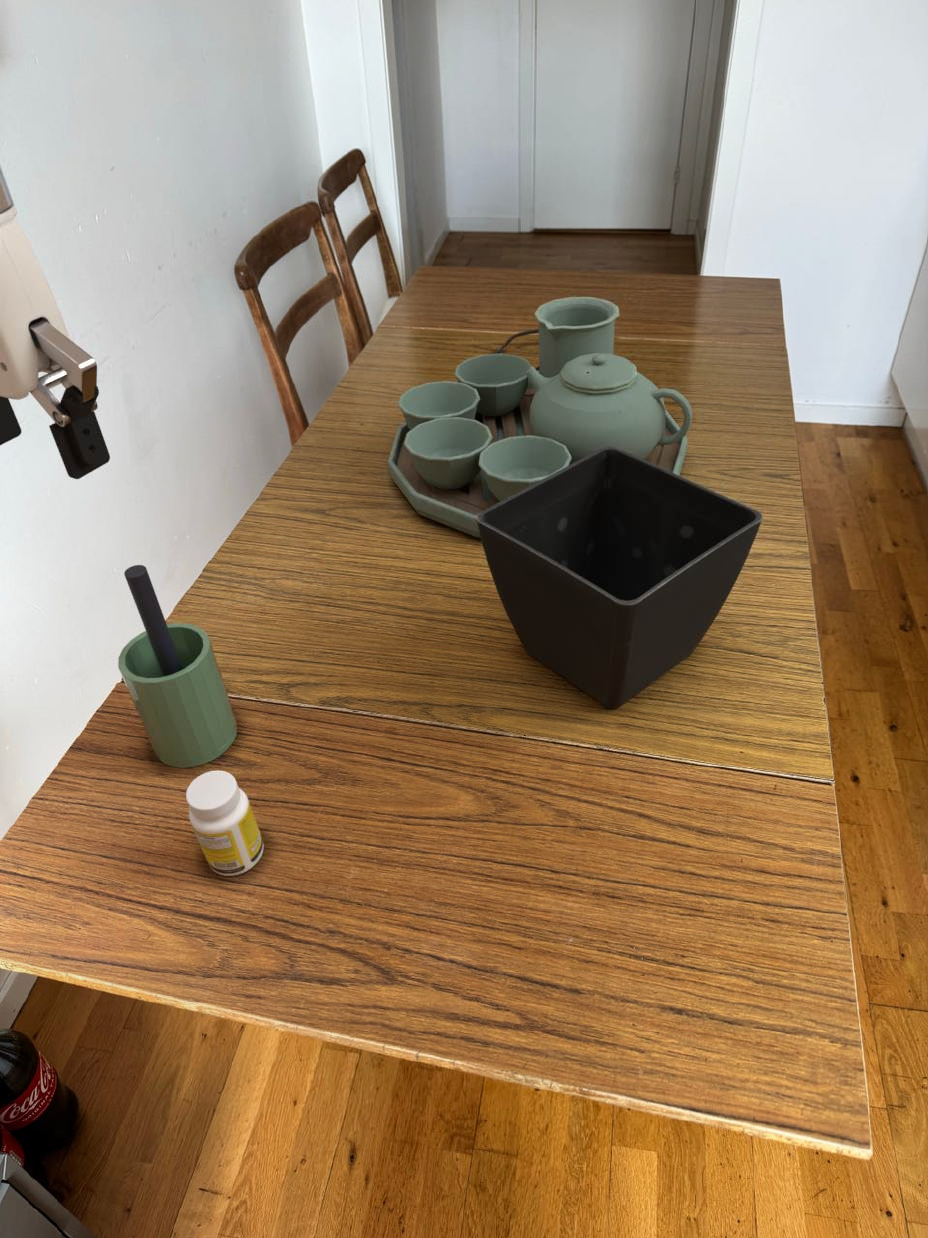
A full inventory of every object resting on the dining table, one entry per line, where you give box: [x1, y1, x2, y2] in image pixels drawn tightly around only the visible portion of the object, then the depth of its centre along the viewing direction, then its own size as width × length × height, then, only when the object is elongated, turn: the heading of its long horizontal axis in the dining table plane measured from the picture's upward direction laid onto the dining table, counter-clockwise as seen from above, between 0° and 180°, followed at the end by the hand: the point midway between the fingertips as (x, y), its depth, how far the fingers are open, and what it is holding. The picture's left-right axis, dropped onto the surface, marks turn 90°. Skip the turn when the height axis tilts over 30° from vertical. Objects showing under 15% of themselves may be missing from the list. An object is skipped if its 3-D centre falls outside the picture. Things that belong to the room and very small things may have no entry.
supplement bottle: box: [185, 769, 264, 877], centre depth 73 cm, size 5×5×8 cm
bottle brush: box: [123, 564, 183, 677], centre depth 80 cm, size 4×4×19 cm
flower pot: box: [476, 446, 763, 709], centre depth 86 cm, size 19×19×17 cm
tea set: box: [387, 296, 693, 538], centre depth 117 cm, size 40×40×16 cm
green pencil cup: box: [117, 622, 238, 769], centre depth 83 cm, size 8×8×11 cm
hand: (45, 455), depth 64 cm, fingers open, 9 cm apart
